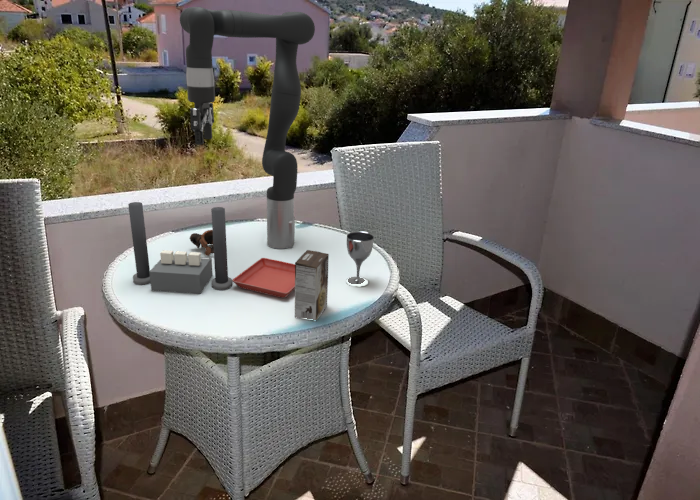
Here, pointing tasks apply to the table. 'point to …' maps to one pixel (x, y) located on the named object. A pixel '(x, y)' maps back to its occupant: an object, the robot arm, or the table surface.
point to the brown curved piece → (203, 241)
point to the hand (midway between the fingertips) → (204, 141)
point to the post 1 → (139, 244)
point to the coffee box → (311, 284)
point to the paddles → (180, 258)
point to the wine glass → (359, 251)
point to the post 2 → (220, 250)
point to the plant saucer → (268, 277)
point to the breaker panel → (181, 276)
